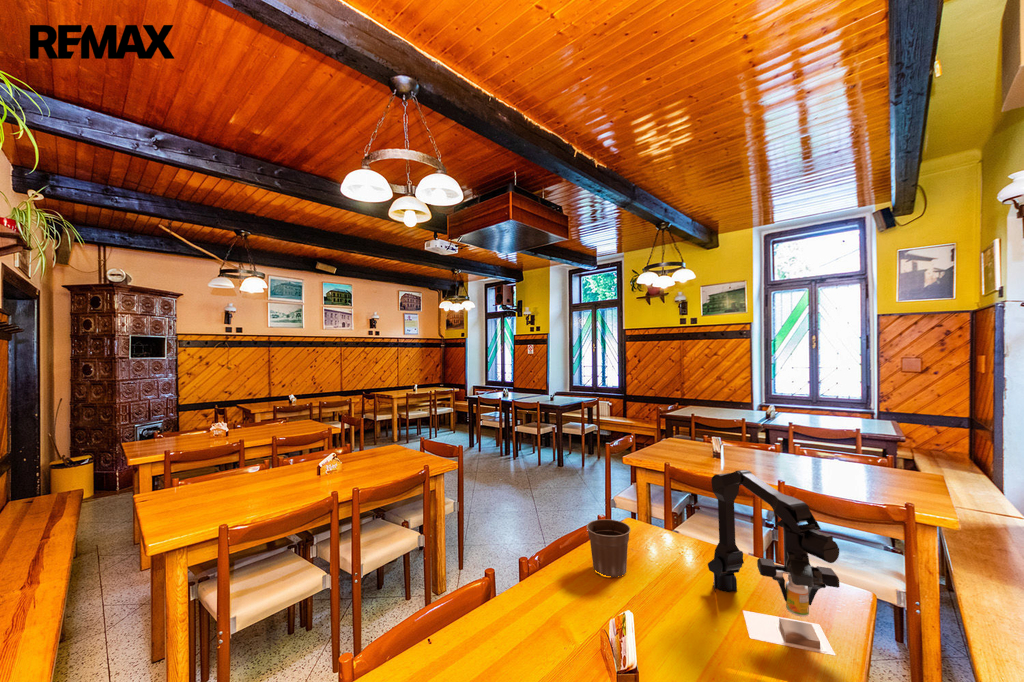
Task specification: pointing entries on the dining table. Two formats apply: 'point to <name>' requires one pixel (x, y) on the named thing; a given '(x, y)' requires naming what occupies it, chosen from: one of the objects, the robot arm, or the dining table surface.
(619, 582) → the dining table surface
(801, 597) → the supplement bottle
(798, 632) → the grey plinth
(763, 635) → the white flat board
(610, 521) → the plant pot
